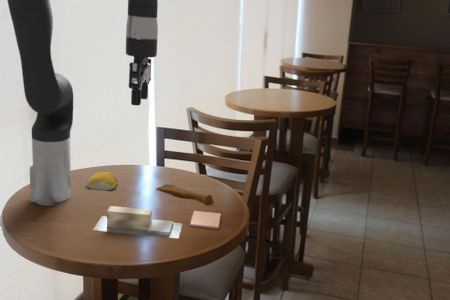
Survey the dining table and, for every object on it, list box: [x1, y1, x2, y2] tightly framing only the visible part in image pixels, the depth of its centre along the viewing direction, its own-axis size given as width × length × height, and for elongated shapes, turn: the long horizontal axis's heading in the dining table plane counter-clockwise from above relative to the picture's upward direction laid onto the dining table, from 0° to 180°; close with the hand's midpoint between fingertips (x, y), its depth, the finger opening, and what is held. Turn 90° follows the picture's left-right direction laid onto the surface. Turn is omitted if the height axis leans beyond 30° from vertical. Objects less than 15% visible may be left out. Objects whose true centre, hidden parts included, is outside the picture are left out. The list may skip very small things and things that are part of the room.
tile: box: [189, 210, 222, 230], centre depth 118 cm, size 2×8×7 cm
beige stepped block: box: [106, 205, 174, 235], centre depth 111 cm, size 15×6×4 cm, turn 88°
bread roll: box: [87, 171, 119, 192], centre depth 137 cm, size 8×9×4 cm
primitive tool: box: [155, 183, 214, 205], centre depth 135 cm, size 19×6×4 cm, turn 54°
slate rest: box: [92, 215, 184, 240], centre depth 111 cm, size 20×8×1 cm, turn 88°
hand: (139, 101), depth 118 cm, fingers open, 8 cm apart
